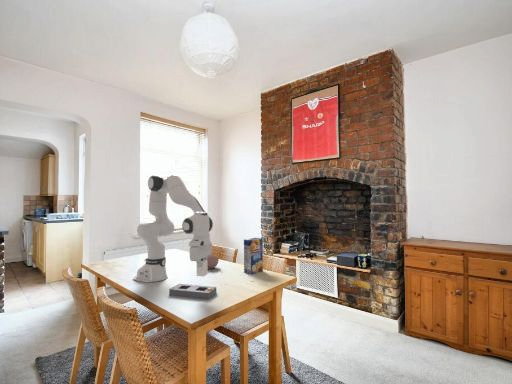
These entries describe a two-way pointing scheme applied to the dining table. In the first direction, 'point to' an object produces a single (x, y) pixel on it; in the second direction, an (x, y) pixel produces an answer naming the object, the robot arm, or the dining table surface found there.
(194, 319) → the dining table surface
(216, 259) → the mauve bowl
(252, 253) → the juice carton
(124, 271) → the dining table surface
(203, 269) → the plug
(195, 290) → the power strip
